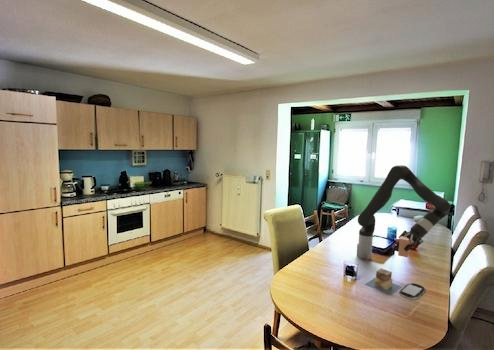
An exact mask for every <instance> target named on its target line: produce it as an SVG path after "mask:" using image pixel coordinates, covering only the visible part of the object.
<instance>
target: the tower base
mask: <svg viewBox="0 0 494 350" xmlns="http://www.w3.org/2000/svg"><path fill="white" fill-rule="evenodd" d="M374 278H375V282H374V285H375V286H378V287H380V288H383V289H385V290H387V289H389V288H390V287H391V286H392V283H393V278H392V277H391V279H390V280H388V281H387V282H386V281H383V280H381V279H378V278H376V276H375V277H374Z"/></svg>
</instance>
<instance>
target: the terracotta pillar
mask: <svg viewBox="0 0 494 350" xmlns="http://www.w3.org/2000/svg"><path fill="white" fill-rule="evenodd" d="M398 239H399V240H398V241H399V247H398V254H397V256H400V257H404V258H408V257H409V251H410V249H409V250H408V251H405V250H404V248H405V247H406V246H407V245H408V244H409V242H410V241H409V238H407V237H403V236H402V237H400V238H398Z"/></svg>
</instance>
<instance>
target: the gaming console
mask: <svg viewBox="0 0 494 350" xmlns="http://www.w3.org/2000/svg"><path fill="white" fill-rule="evenodd" d="M425 292H426V287H424V286H423V285H421V284H417V283H413V282H411V283H407V284H406V285H405V286H404V287H403V286H402V287H401V288H400V289H399V292H398V293H399V295H400V296H401V297H404V298H406V299H409V300H418V299H419V298H420V297H421V296H422V295H423V294H424V293H425Z"/></svg>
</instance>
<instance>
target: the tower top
mask: <svg viewBox="0 0 494 350" xmlns="http://www.w3.org/2000/svg"><path fill="white" fill-rule="evenodd" d="M375 274H376V275H375V277H376V278H378V279H381V280H383V281H386V282H387V281H388V280H390V279H391V278H392V274H393V273H392V271H390V270H387V269H384V268H379V269H378V270H376V273H375Z"/></svg>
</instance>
